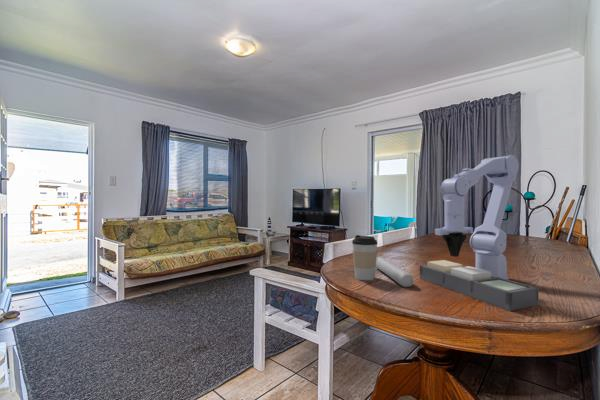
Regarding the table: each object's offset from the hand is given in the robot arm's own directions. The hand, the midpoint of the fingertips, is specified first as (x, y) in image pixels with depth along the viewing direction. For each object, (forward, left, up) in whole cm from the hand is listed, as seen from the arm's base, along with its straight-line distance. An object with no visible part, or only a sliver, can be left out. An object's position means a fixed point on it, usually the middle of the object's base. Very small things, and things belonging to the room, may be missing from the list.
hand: (454, 256), depth 95 cm
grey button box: (0, +6, -9) cm, 11 cm away
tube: (+13, -14, -10) cm, 22 cm away
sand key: (0, -4, -6) cm, 7 cm away
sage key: (0, +16, -7) cm, 18 cm away
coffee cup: (+23, -17, -10) cm, 30 cm away
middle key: (0, +6, -6) cm, 8 cm away
